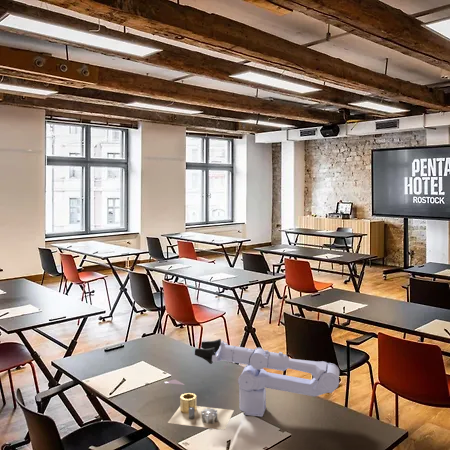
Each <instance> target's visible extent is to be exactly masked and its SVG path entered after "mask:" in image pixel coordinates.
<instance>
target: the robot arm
mask: <svg viewBox="0 0 450 450" xmlns="http://www.w3.org/2000/svg"><path fill="white" fill-rule="evenodd" d="M200 343H201V344H200V348H195V349H194V356H197V357H199V358H201V359H202V360H203V359H204V360H205V361H206V362H207V363H208V364H210V365H211V364H213V363H214V362H215V363H218V362H222V361H224V362H229V363H235V364H242V365H245V366H244V367H243V370H242V372H241V374H240V375H239V376H238V379H237V383H238V386H239V387H238V388H239V391H238V392H239V394H238V395H239V400H238V401H239V410H240V411H241V412H243V415H245V416H250V417H251V416H252V417H260V418H262V417H263V416H264V415H265V412H266V408H267V403H266V402H267V401H266V400H267V399H266V398H267V390H266V389H271V390H275V391H276V390H278V391H282V392H287V393H292V394H298V395H304V396H310V397H319V396H321V395H324V394H325V395H326V394H327V393H329V394H332V393H333V392H334V391H335V390H337V388H338V387H339V385H340V380H339V379H340V368H339V367H338V365H336V364H335V363H331V362H327V361H323V360H322V361H315V360H307V359H306V360H305V359H296V358H290V357H289V356H288V355H287V354H285V353H284V352H282V351H279V352H273V351H269V350H268V349H266V350H265V349H263V348H262V347H256V348H247V347H243V346H236V345H230V344H228V342H224V340H222V339H221V338H218V339H216V340H212V341H211V340H210V341H201V342H200ZM265 369H270V370H275V371H280V372H285V371H286V370H288V369H290V370H295V371H299V372H303V373H306V374H307V373H308V374H311V376H312V378H311V379H309V378H302V377H296V376H291V375H285V374H279V373H274V372H270V371H269V372H268V371H267V370H265Z"/></svg>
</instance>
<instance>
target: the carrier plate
mask: <svg viewBox="0 0 450 450" xmlns="http://www.w3.org/2000/svg"><path fill="white" fill-rule="evenodd" d="M206 408H207V409H211V408H213V409H214V410H217V412H218V421H217V422H215V424H212V423H211V424H206V423H203V422H202V412H201V411H204V410H205V409H206ZM234 411H235V410H234V409H226V408H218V407H210V406H200V405H199V406H198V405H197V410H196V411H195V418H194V419H192V420H191V419H189V414H186V413H182V412H181V410H180V406H179V407H178V408H177V410H176V411H175V412H174V414H173V415H172V416H171V418H170V419H169V420H168V421H167V424H172V425H174V424H175V425H182V426H187V427H189V426H190V427H197V428H206V429H214V430H215V429H216V430H221V431H222V430H223V431H224V430H226V428H227V426H228V423H229V422H230V419H231V417H232V416H233V414H234Z"/></svg>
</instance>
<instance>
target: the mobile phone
mask: <svg viewBox="0 0 450 450" xmlns="http://www.w3.org/2000/svg"><path fill="white" fill-rule="evenodd" d="M164 383H165V384H172V385H183V386H185V385H186V384H184V383H183V382H181V381H179V380H178V379H170V380H167V381H164Z"/></svg>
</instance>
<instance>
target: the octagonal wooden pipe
mask: <svg viewBox="0 0 450 450" xmlns="http://www.w3.org/2000/svg"><path fill="white" fill-rule="evenodd" d="M197 396H198V395H196V394H195V393H191V392H187V393H182V394H181V395H180V397H179V399H180V400H179V403H180V404H179V407H180V410H181V412H182V413H186V414H189V408H190V407H194V411H196V410H197V406H198V405H197V403H198V401H197V400H198V398H197Z"/></svg>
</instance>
